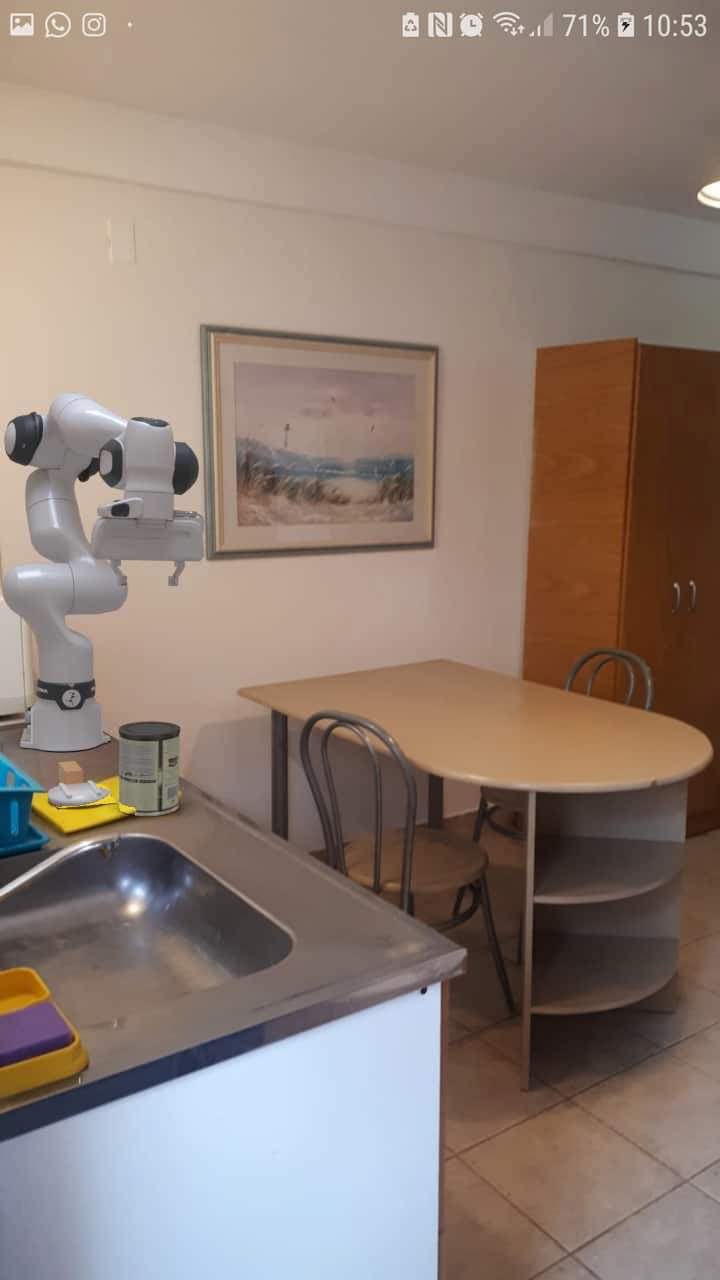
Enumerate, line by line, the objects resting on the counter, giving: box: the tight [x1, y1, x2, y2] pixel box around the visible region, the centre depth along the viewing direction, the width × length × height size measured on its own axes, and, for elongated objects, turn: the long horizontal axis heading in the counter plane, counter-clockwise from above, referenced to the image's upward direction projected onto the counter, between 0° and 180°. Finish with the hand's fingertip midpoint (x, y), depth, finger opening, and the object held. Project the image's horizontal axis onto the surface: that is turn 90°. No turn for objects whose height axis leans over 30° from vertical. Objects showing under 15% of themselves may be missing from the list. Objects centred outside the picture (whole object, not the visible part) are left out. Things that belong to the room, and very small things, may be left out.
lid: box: [47, 760, 112, 807], centre depth 168 cm, size 17×11×4 cm, turn 27°
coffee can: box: [118, 721, 181, 817], centre depth 162 cm, size 10×10×14 cm
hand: (147, 585), depth 172 cm, fingers open, 8 cm apart
